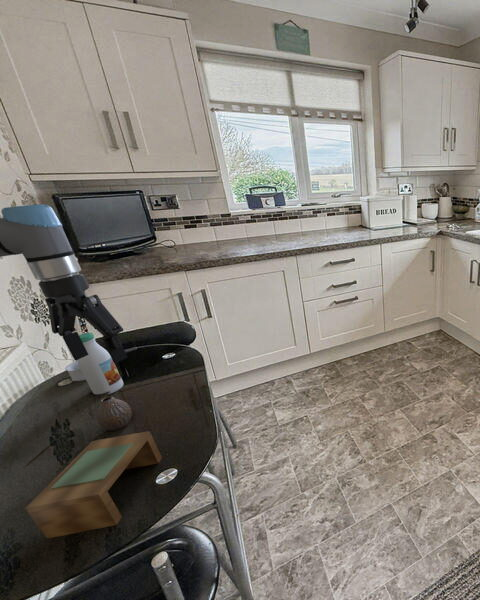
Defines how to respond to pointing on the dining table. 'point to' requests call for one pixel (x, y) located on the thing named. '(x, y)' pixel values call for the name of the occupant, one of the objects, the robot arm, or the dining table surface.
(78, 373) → the saucepan
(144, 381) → the dining table surface
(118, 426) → the vase
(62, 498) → the shelf
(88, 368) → the milk bottle
